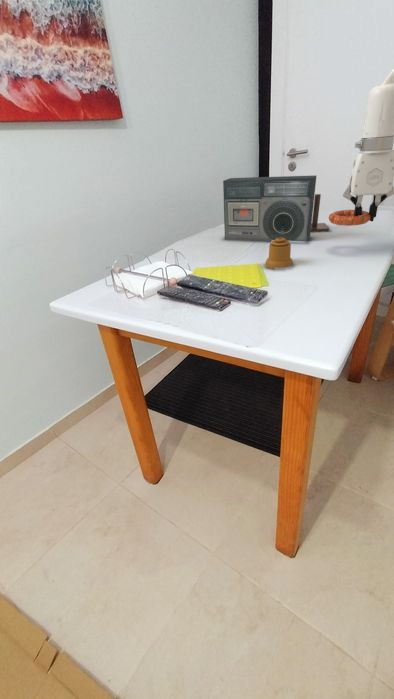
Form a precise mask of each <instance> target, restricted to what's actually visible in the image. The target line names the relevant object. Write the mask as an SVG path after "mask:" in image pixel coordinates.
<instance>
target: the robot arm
mask: <svg viewBox="0 0 394 699" xmlns="http://www.w3.org/2000/svg"><path fill="white" fill-rule="evenodd" d="M365 110H366V111H365V116H364V123H363V128H362V135H361V138H360V140H359V141H355V143H354V149H359V152H357V153H356V155H355V158H354V161H353V165H352V169H351V173H350V178H349V183H348V186H347V188H346V189H345V191H344V192H343V194H342V197H343V198H345V199H346V200H348V201H350V202H351V203H352V204H353V205H354V209H353V210H354V216H360V215H361V214H362V211H363V207H362V202H363V198H364V196H372V202H371V204H370V205H369V207H368V208H369V209H368V213H369V214H370V215H371V219H370V220H369V221H370V222H374V221H375V220H374V219H375V218H376V217H377V213H378V208H379V206H380V205H381V203H383V202H384V201H385V200H386V199H387V198H390V197H391V196H394V149H393V148H394V68H393V69H392V70H391V71H390V72H389V73H388V75H387V76H386V78H385V79H384V80H383V82H382V83H381V84H379V85H376V86H373V87H372V88H371V89H370V91H369V92H368V97H367V102H366V107H365Z"/></svg>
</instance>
